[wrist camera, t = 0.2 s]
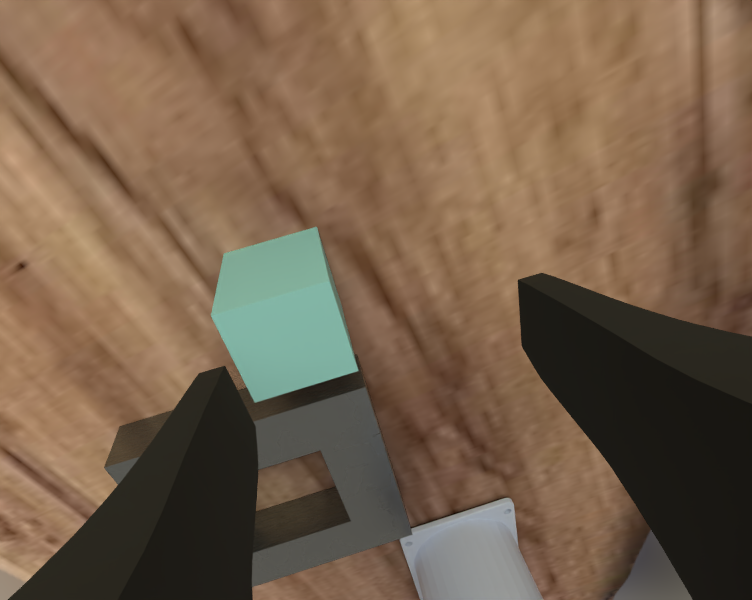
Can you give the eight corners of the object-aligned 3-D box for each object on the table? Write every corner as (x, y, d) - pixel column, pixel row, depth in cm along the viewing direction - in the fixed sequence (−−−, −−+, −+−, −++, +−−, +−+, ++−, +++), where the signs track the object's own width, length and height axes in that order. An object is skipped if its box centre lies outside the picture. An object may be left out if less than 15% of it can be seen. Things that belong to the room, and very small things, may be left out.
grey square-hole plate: (402, 498, 29) (412, 534, 27) (218, 557, 29) (213, 599, 27) (356, 354, 23) (365, 387, 21) (119, 426, 23) (103, 467, 20)
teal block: (341, 304, 22) (358, 370, 17) (257, 329, 21) (254, 403, 17) (316, 226, 20) (329, 280, 15) (224, 253, 19) (211, 316, 15)
